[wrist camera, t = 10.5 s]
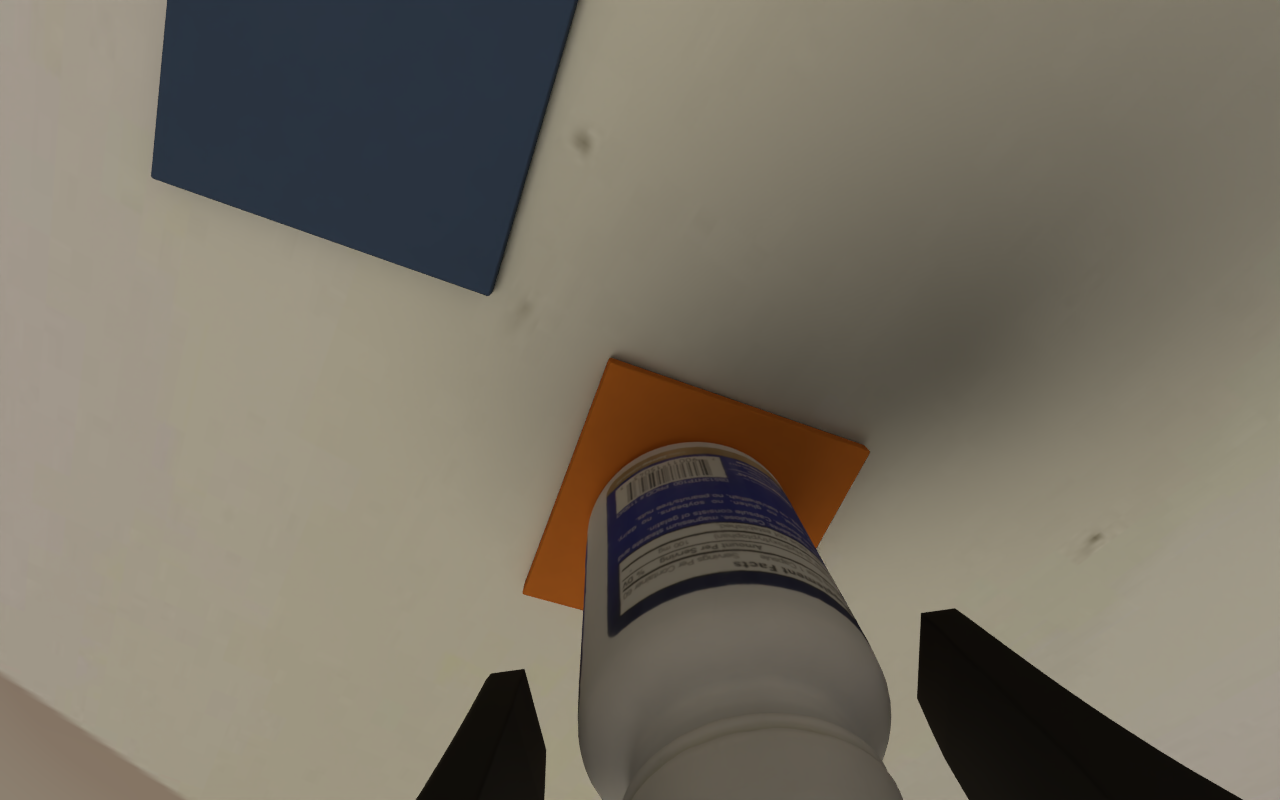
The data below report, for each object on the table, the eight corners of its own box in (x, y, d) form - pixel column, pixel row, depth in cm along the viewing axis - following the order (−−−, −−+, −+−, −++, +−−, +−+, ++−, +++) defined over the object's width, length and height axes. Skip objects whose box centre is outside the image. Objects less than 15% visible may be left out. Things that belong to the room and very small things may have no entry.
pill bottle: (742, 627, 17) (869, 1064, 9) (563, 583, 16) (515, 1019, 8) (822, 467, 15) (1076, 826, 7) (627, 408, 14) (650, 735, 6)
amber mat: (865, 444, 16) (871, 452, 15) (752, 647, 18) (756, 657, 17) (609, 356, 14) (609, 361, 14) (524, 585, 17) (522, 595, 16)
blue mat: (593, -52, 11) (592, -59, 11) (492, 293, 14) (488, 297, 13) (203, -234, 10) (188, -249, 10) (163, 177, 12) (149, 177, 12)
